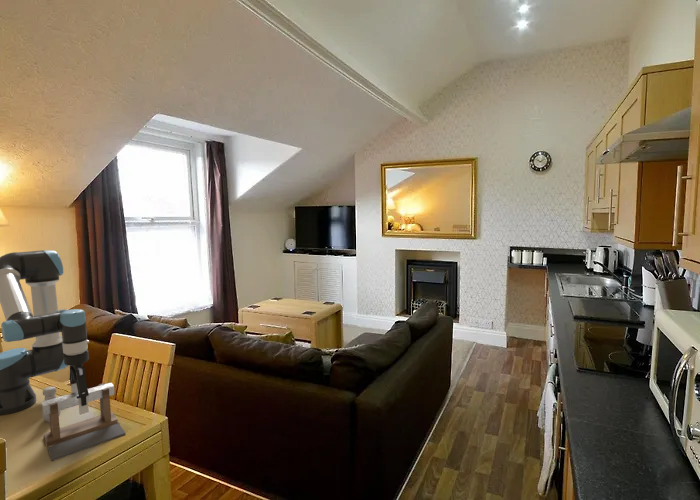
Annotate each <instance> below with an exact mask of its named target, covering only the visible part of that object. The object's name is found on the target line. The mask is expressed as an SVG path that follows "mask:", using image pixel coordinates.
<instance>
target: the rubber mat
mask: <svg viewBox="0 0 700 500" xmlns="http://www.w3.org/2000/svg"><path fill="white" fill-rule="evenodd" d="M124 435H127V434H126V432H125V430H124V428H123V427H122V426H121V424H120V422H118V423H116V424H113V425H110V426H107V427H104V428H102V429H99V430H96V431H93V432H90V433H87V434H84V435H81V436H78V437H75V438H72V439H69V440H66V441H63V442H61V443H58V444H55V445H52V446H49V447H47V451H48V453H49V457H50V459H51V462H53V461H56V460H59V459H61V458H64V457H67V456H70V455H73V454H76V453H78V452H81V451H84V450H87V449H89V448H91V447H96V446H98V445H100V444H102V443H105V442H108V441H111V440H113V439H117V438H119V437H122V436H124Z"/></svg>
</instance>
